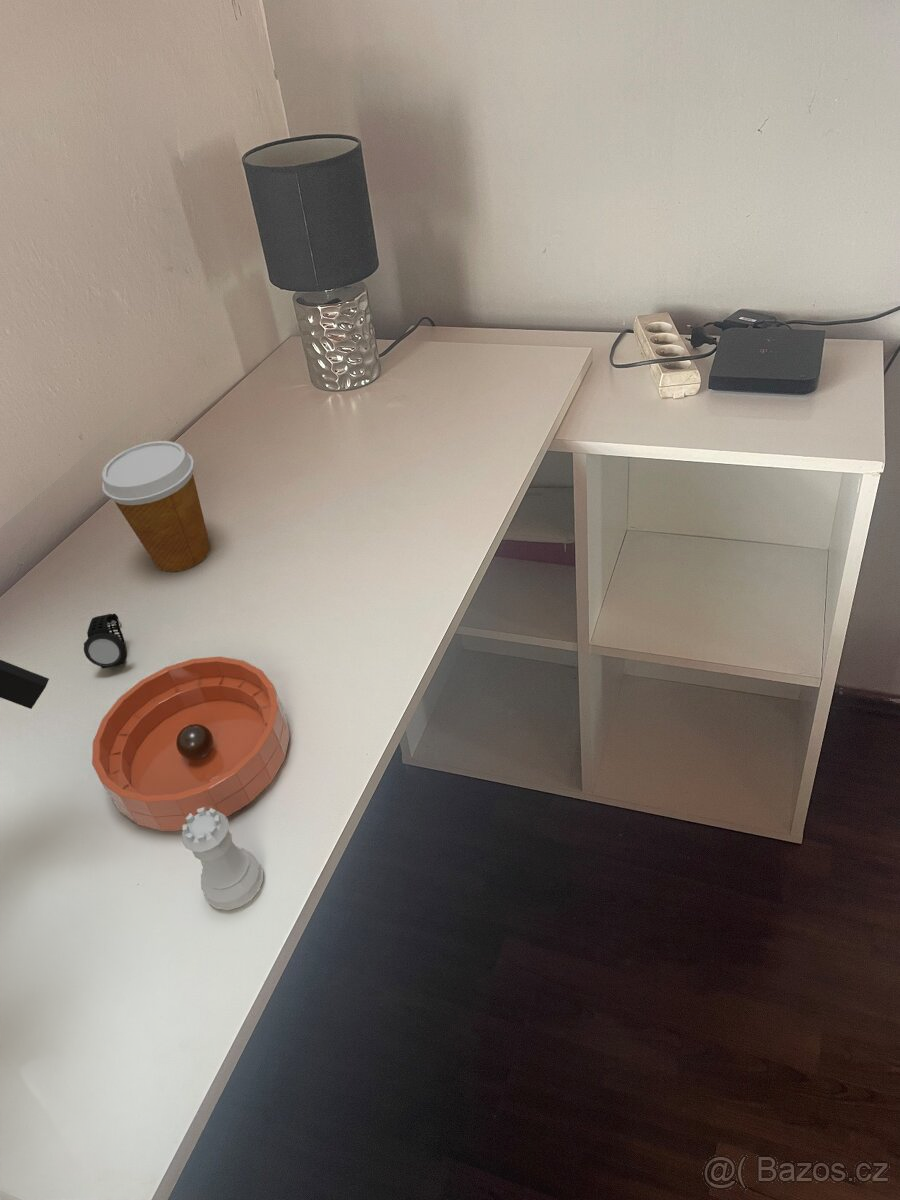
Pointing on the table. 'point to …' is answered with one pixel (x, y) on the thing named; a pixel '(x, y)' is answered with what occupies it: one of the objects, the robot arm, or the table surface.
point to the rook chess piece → (221, 861)
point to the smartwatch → (105, 642)
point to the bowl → (149, 732)
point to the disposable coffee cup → (160, 502)
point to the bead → (194, 742)
